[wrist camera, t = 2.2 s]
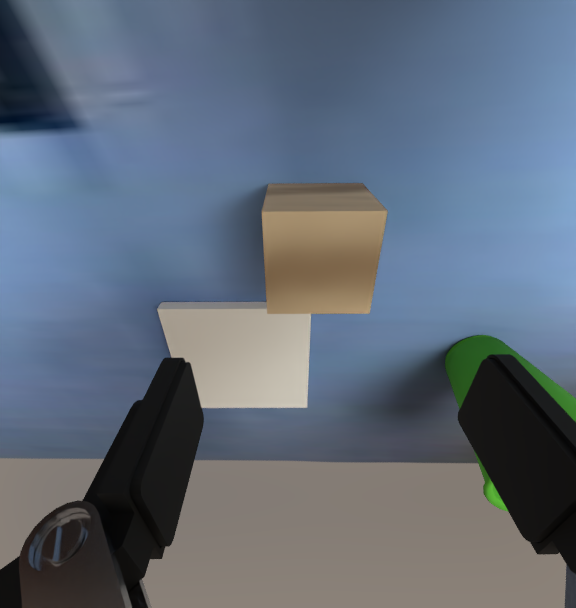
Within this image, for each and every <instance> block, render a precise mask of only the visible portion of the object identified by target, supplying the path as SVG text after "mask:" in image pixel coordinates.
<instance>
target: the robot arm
mask: <svg viewBox="0 0 576 608" xmlns="http://www.w3.org/2000/svg"><path fill="white" fill-rule="evenodd" d="M458 421H459V424H460V426H461V427H462V429H463V431H464V433H465V435H466V436H467V438H468V440H469V442H470V443H471V445H472V447H473V449H474V451H475V452H476V454H477V456H478V458H479V460H480V461H481V463H482V465H483V467H484V469H485V470H486V472H487V474H488V476H489V477H490V479H491V481H492V483H493V485H494V486H495V488H496V490H497V492H498V494H499V495H500V497H501V499H502V501H503V503H504V504H505V506H506V508H507V510H508V512H509V513H510V515H511V517H512V519H513V520H514V522H515V524H516V526H517V528H518V529H519V531H520V533H521V534H522V536H523V537H524V538H525V539H526V540H528V541H529V542H531V544H532V546H533V548H534V550H535V551H536V553H537V554H558V553H559V552H560V554H561V555H562V557H563V559H564V560H565V562H566V564H567V567H566V590H565V608H576V422H575V421H574V420H573V419H572V418H571V417H570V416H569V415H568V413H567V412H566V411H565V410H564V409H563V408H562V407H561V406H560V405H559V404H558V403H557V402H556V401H555V400H554V398H553V397H552V396H551V395H550V394H549V393H548V392H547V391H546V390H545V389H544V388H543V387H542V386H541V385H540V384H539V382H538V381H537V380H536V379H535V378H534V377H533V376H532V375H531V374H530V373H529V372H528V371H527V370H526V369H525V367H524V366H523V365H522V364H521V363H520V362H519V361H518V360H517V359H516V358H515V357H514V356H513V355H510V354H491V355H488V356H487V358H486V359H484V360H482V362H481V364H480V366H479V368H478V370H477V373H476V375H475V377H474V379H473V381H472V384H471V386H470V388H469V390H468V392H467V395H466V397H465V399H464V401H463V403H462V406H461V408H460V410H459V412H458ZM203 422H204V417H203V412H202V408H201V404H200V400H199V395H198V391H197V387H196V383H195V379H194V375H193V371H192V367H191V363H190V362H185V359H184V358H164V359H163V360H162V362H161V364H160V366H159V368H158V370H157V372H156V374H155V376H154V378H153V380H152V382H151V384H150V386H149V388H148V390H147V392H146V394H145V397H144V399H143V400H138V401H136V402H135V403H134V404H133V406H132V407H131V409H130V411H129V413H128V415H127V416H126V418H125V420H124V422H123V424H122V426H121V428H120V430H119V432H118V434H117V436H116V438H115V439H114V441H113V443H112V445H111V447H110V449H109V451H108V453H107V455H106V457H105V459H104V461H103V463H102V464H101V466H100V468H99V470H98V472H97V474H96V476H95V478H94V480H93V482H92V484H91V486H90V488H89V489H88V491H87V493H86V495H85V497H84V499H83V501H74V502H70V503H66V504H64V505H62V506H60V507H58V508H56V509H55V510H53V511H52V512H51V513H49V514H48V515H47V516H45V517H44V518H43V519H42V520H41V521H40V522H39V523H38V524H37V525H36V526H35V527H34V529H33V530H32V531H31V533H30V534H29V536H28V537H27V539H26V540H25V543H24V545H23V547H22V550H21V553H20V556H19V557H17V558H16V559H15V560H13V561H12V562H11V563H9V564H8V565H6V566H5V567H4V568H2V569H1V570H0V608H152V607H151V604H150V601H149V598H148V595H147V592H146V589H145V586H144V584H143V581H142V578H143V577H144V576H145V573H146V570H147V567H148V563H149V560H150V559H162V557H163V553H164V549H165V546H170V545H171V543H172V541H173V539H174V535H175V531H176V528H177V524H178V520H179V515H180V512H181V508H182V504H183V501H184V497H185V493H186V489H187V486H188V482H189V478H190V474H191V470H192V466H193V462H194V459H195V455H196V451H197V447H198V443H199V440H200V436H201V432H202V428H203Z"/></svg>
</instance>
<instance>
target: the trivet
mask: <svg viewBox="0 0 576 608" xmlns="http://www.w3.org/2000/svg"><path fill="white" fill-rule="evenodd" d="M157 311H158V314H159V317H160V321H161V324H162V327H163V331H164V334H165V337H166V341H167V344H168V347H169V351H170V354H171V357H172V358H184V359H185V362H190V363H191V367H192V371H193V375H194V379H195V383H196V387H197V391H198V395H199V400H200V404H201V408H307V395H308V372H309V349H310V326H311V314H267V302H161V304H160V305H159V307H158V308H157Z"/></svg>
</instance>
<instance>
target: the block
mask: <svg viewBox="0 0 576 608" xmlns="http://www.w3.org/2000/svg"><path fill="white" fill-rule="evenodd" d="M387 212H388V211H387V210H386V209H385V207H384V206H383V205H382V204H381V203H380V202H379V201H378V200H377V199H376V198H375V196H374V195H373V194H372V193H371V192H370V191H369V190H368V189H367V188H366V187H365V185H364V184H363V183H292V184H268V188H267V192H266V196H265V200H264V204H263V208H262V228H263V246H264V265H265V283H266V302H267V314H369V313H370V308H371V302H372V296H373V291H374V285H375V280H376V274H377V268H378V263H379V257H380V252H381V246H382V240H383V235H384V229H385V223H386V218H387Z"/></svg>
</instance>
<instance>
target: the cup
mask: <svg viewBox="0 0 576 608" xmlns="http://www.w3.org/2000/svg"><path fill="white" fill-rule="evenodd" d="M491 354H510V355H513V356H514V357H515V358H516V359H517V360H518V361H519V362H520V363H521V364H522V365H523V366H524V367H525V369H526V370H527V371H528V372H529V373H530V374H531V375H532V376H533V377H534V378H535V379H536V380H537V381H538V382H539V384H540V385H541V386H542V387H543V388H544V389H545V390H546V391H547V392H548V393H549V394H550V395H551V396H552V397H553V398H554V400H555V401H556V402H557V403H558V404H559V405H560V406H561V407H562V408H563V409H564V410H565V411H566V412H567V413H568V415H569V416H570V417H571V418H572V419H573V420H574V421H575V422H576V398H574V397H573V396H572V395H571V394H569V393H568V392H567V391H565V390H564V389H563V388H562V387H560V386H559V385H558V384H556V383H555V382H554V381H553V380H551V379H550V378H549V377H547V376H546V375H545V374H544V373H542V372H541V371H540V370H538V369H537V368H536V367H534V366H533V365H532V364H531V363H529V362H528V361H527V360H525V359H524V358H523V357H522V356H520V355H519V354H518V353H516V352H515V351H514V350H513V349H511V348H510V347H509V346H507V345H506V344H505V343H504V342H502V341H501V340H499V339H497V338H493V337H491V336H486V335H478V336H472V337H469V338H466V339H464V340H462V341H460V342H458V343H457V344H456V345H454V346H453V347H452V348H451V349H450V350H449V352H448V353H447V355H446V359H445V369H446V372H447V375H448V378H449V380H450V383H451V386H452V389H453V392H454V395H455V398H456V400H457V403H458V406H459V409H460V408H461V406H462V403H463V401H464V399H465V397H466V395H467V392H468V390H469V388H470V386H471V384H472V381H473V379H474V377H475V375H476V373H477V370H478V368H479V366H480V364H481V362H482V360H484V359H486V358H487V356H488V355H491ZM474 452H475V451H474ZM475 455H476V457H477V460H478V463H479V466H480V469H481V472H482V475H483V477H484V480H485V484H484V486H483V489H484V495H485V497H486V498H487V499H488V501H489V502H490V503H491V504H493V505H494V506H496V507H498V508H499V509H502V510H505V511H508V510H507V508H506V506H505V504H504V503H503V501H502V499H501V497H500V495H499V494H498V492H497V490H496V488H495V486H494V485H493V483H492V481H491V479H490V477H489V476H488V474H487V472H486V470H485V469H484V467H483V465H482V463H481V461H480V460H479V458H478V456H477V454H476V452H475Z"/></svg>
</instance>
